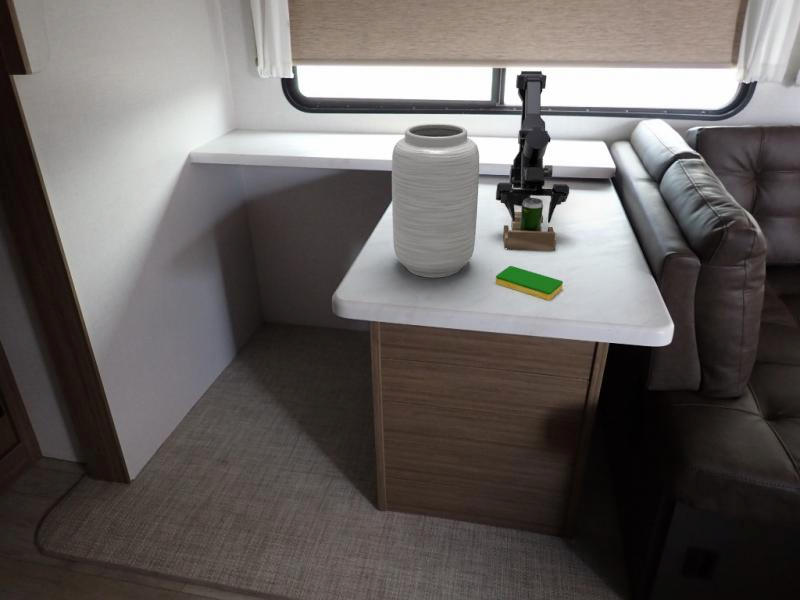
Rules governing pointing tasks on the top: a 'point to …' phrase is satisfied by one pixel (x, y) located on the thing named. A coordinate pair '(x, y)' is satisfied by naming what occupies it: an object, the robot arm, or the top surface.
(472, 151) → the vase
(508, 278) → the dish sponge
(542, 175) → the robot arm
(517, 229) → the offcut stack
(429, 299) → the top surface
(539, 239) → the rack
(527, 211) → the beer can
